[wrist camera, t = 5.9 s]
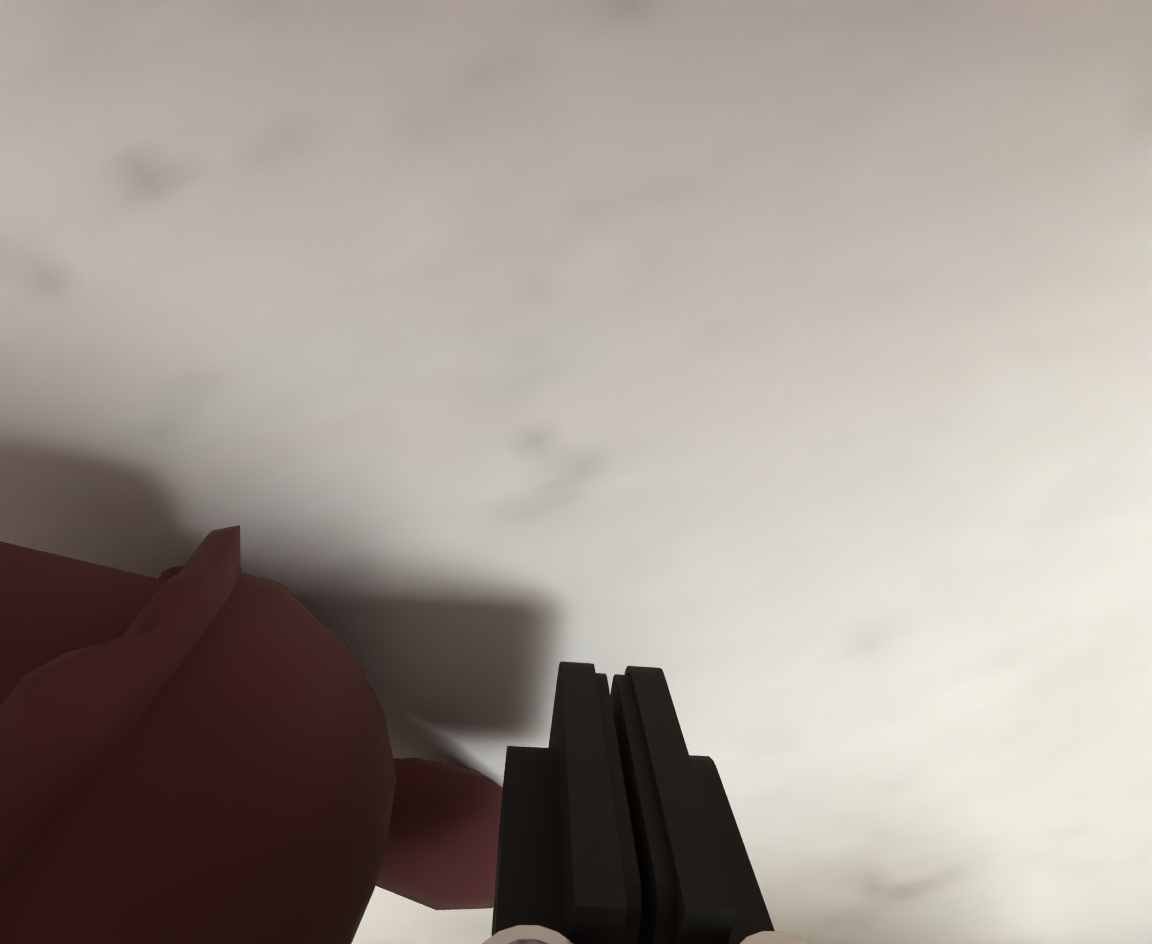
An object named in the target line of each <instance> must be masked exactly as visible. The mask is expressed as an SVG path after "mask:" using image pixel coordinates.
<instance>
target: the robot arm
mask: <svg viewBox="0 0 1152 944" xmlns="http://www.w3.org/2000/svg"><path fill="white" fill-rule="evenodd" d="M482 944H810V943H808V942H807V941H805V940H803V939H802V938H799V937H796V936H793V935H790V934H787V933H784V932H775V931H774V928H773V925H772V922H771V919H770V917H769V914H768V911H767V908H766V905H765V902H764V900H763V897H762V894H761V891H760V888H759V886H758V883H757V880H756V877H755V874H754V872H753V869H752V866H751V863H750V860H749V858H748V855H747V852H746V849H745V846H744V843H743V841H742V838H741V835H740V832H739V829H738V827H737V824H736V821H735V818H734V815H733V813H732V810H731V807H730V804H729V801H728V799H727V796H726V793H725V790H724V787H723V784H722V782H721V779H720V776H719V773H718V770H717V768H716V766H715V764H714V762H713V760H712V759H711V758H710V757H709V756H691V755H689V754H688V751H687V747H686V744H685V741H684V738H683V734H682V731H681V728H680V725H679V721H678V718H677V715H676V712H675V708H674V705H673V702H672V699H671V695H670V692H669V689H668V686H667V682H666V679H665V676H664V673H663V671H662V669H661V668H652V667H637V666H628V667H627V668H626V671H625V675H618V674H615V675H614V677H613V682H612V688H611V694H610V693H609V687H608V681H607V676H606V674H602V673H595V668H594V664H590V663H575V662H560V664H559V670H558V677H557V685H556V693H555V701H554V709H553V717H552V724H551V732H550V740H549V748H536V747H516V746H507V753H506V762H505V772H504V782H503V793H502V804H501V815H500V827H499V840H498V853H497V867H496V881H495V895H494V909H493V922H492V936H491V937H490V938H489V939H488V940H486V941H485V942H483V943H482Z"/></svg>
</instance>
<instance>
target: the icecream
mask: <svg viewBox="0 0 1152 944" xmlns="http://www.w3.org/2000/svg"><path fill="white" fill-rule="evenodd" d="M502 793H503V788H502V787H501V786H499V785H498V784H497V783H496V782H494V781H493V780H491V779H490V778H488V777H486V776H485V775H483V774H481V773H480V772H478V771H476V770H471V769H467V768H462V767H457V766H453V765H448V764H443V763H438V762H434V761H429V760H424V759H420V758H402V759H393V757H392V752H391V746H390V741H389V736H388V731H387V726H386V721H385V716H384V710H383V709H382V707H381V705H380V703H379V701H378V700H377V698H376V696H375V694H374V692H373V691H372V689H371V687H370V685H369V683H368V682H367V680H366V678H365V676H364V674H363V673H362V671H361V669H360V667H359V665H358V664H357V662H356V660H355V658H354V657H353V655H352V653H351V651H350V649H349V648H348V647H347V646H346V645H345V644H344V643H343V642H342V641H341V640H340V639H339V638H338V637H337V636H336V635H334V634H333V633H332V632H331V631H330V630H329V629H328V628H327V627H326V626H325V625H324V624H323V623H322V622H321V621H320V620H319V619H317V618H316V617H315V616H314V615H313V614H312V613H311V612H310V611H309V610H308V609H307V608H306V607H305V606H304V605H303V604H302V603H300V602H299V601H298V600H297V599H296V598H295V597H294V596H293V595H292V594H291V593H290V592H289V591H288V590H287V589H286V588H285V587H284V586H282V585H281V584H280V583H278V582H273V581H269V580H265V579H261V578H257V577H252V576H248V575H244V574H241V568H240V525H239V526H234V527H229V528H224V529H218V530H213V531H212V532H211V533H210V534H209V535H208V536H207V537H206V538H205V540H204V541H203V542H202V544H201V545H200V546H199V547H198V549H197V550H196V551H195V553H194V554H193V555H192V557H191V558H190V559H189V561H188V562H187V563H186V564H185V566H179V567H173V568H170V569H168V570H166V571H164V572H162V574H161V576H160V578H159V579H155V578H151V577H147V576H143V575H138V574H134V573H130V572H126V571H122V570H117V569H113V568H109V567H105V566H101V565H96V564H92V563H88V562H84V561H80V560H75V559H71V558H67V557H63V556H59V555H55V554H50V553H46V552H42V551H38V550H34V549H29V548H25V547H21V546H17V545H13V544H8V543H4V542H0V944H351V943H352V941H353V938H354V936H355V934H356V931H357V929H358V926H359V924H360V922H361V919H362V917H363V915H364V912H365V910H366V907H367V905H368V903H369V900H370V898H371V896H372V893H373V891H374V888H375V886H378V887H380V888H383V889H385V890H388V891H390V892H393V893H395V894H398V895H400V896H403V897H405V898H408V899H410V900H413V901H415V902H418V903H420V904H423V905H425V906H428V907H430V908H433V909H435V910H452V909H483V908H493V907H494V895H495V881H496V867H497V853H498V840H499V827H500V815H501V804H502Z"/></svg>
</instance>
